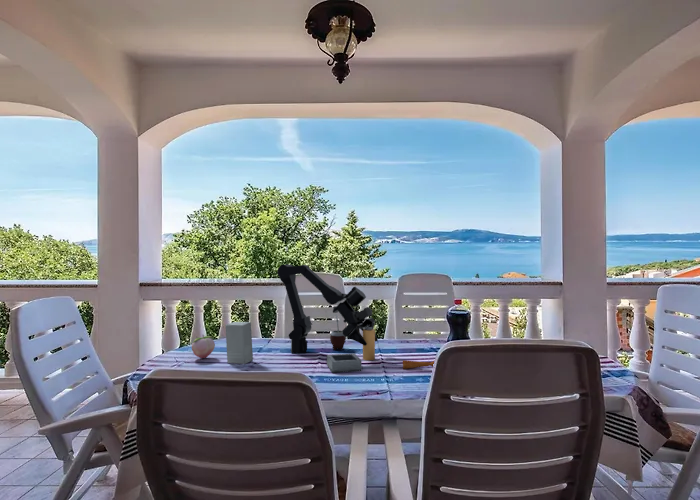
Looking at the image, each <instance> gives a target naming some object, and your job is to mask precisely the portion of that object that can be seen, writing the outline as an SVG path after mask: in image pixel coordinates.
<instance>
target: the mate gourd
mask: <svg viewBox="0 0 700 500" xmlns="http://www.w3.org/2000/svg"><path fill="white" fill-rule="evenodd" d="M335 319H336V327H337V330H333V331H331V333H330V335H329V340H330V343H331V345H332V350H333V351H337V350H339V351H344V345H345V343H346V340H347V339H346V338H347V337H344V335H343V334H342V330H340V329H339V319H338V315H337V314H335Z"/></svg>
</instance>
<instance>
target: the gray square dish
mask: <svg viewBox="0 0 700 500" xmlns="http://www.w3.org/2000/svg"><path fill="white" fill-rule="evenodd" d="M326 366H327V367H328V369H329V370H330V372H331V373H332V374H337V373H338V374H340V373H351V372H352V373H354V372H362V359H361V358H360V357H359V356H358V355H357V354H356V353H339V354H326Z"/></svg>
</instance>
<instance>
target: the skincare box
mask: <svg viewBox="0 0 700 500" xmlns="http://www.w3.org/2000/svg"><path fill="white" fill-rule="evenodd" d="M252 333H253V332H252V322H250V321H233V322H229V323H227V324H225V342H226V344H225V345H226V359H227V362H226V363H227V364H239V365H246V364H247V363H250V362H253V359H254V356H253V355H254V354H253V337H252Z"/></svg>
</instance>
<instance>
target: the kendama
mask: <svg viewBox="0 0 700 500" xmlns="http://www.w3.org/2000/svg"><path fill="white" fill-rule="evenodd" d="M434 361H435V360H433V361H431V362H430V361H429V362H427V361H425V362H424V361H415V360H407V359H405V360H404V359H403V360H402V369H403V370H409V369H414V368H423V367H433V364H434Z"/></svg>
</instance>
